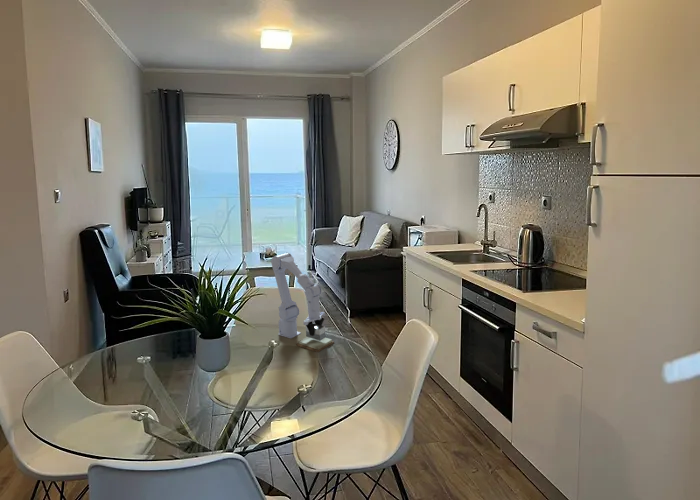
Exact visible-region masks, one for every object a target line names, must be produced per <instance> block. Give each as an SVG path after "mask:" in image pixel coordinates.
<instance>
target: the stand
mask: <svg viewBox="0 0 700 500" xmlns="http://www.w3.org/2000/svg"><path fill="white" fill-rule="evenodd" d="M334 343H335V340H333V339H331V338H328V337H325V338H324V339H322V340H320V341H319V340H316V339H313V338H309V337H306V336H305V337H304V338H301V339H300V340H299V341H298V343H296V346H297V347H300V348H304V349H307V350H309V351H313V352H316V353H319V352H321V351H323V350H324V349H326V348H328V347H329V346H331V345H332V344H334Z"/></svg>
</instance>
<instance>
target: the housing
mask: <svg viewBox="0 0 700 500" xmlns="http://www.w3.org/2000/svg"><path fill="white" fill-rule="evenodd" d="M313 323H314V324H315V322H313ZM306 337H309V338H313V339H316V340H319V341H320V340H322V339H324V338H327V337H326V326H324V325H323V324H322V325H318V324H315V328H314V336H311V335H310V333H309V330H308V328H307V326H306V325H305V338H306Z"/></svg>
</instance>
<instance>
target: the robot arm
mask: <svg viewBox="0 0 700 500" xmlns="http://www.w3.org/2000/svg"><path fill="white" fill-rule="evenodd" d="M270 263H271V267H272V270H273V274H274V277H275V282H276V285H277V288H278V289H277V290H278V293H279V297H280V300H281V303H280V305H279V307H278V315H279V318H280V319H279V320H278V335H277V336H281V337H285V338H288V339H293V338H295V337H297V336H299V335H301V332H300V331H298V325H297V324H298V323H297V322H298V321H297V319H298V316H300V308H299V307H298V304H297V302H296V301H294V300H292V296H291V292H290V287H289V284H288V280H287V276H286V270H288V271H289V272H290V273H291V274H292V275H294V276H295V278H296V279H297V280H296V281H297V283H298V284H299V285H300V287H302V289H303V290H304V295H305V296H306V301H307V311H308V314H307V315H308V316H307V317H306V318H305V320H303V325H304V326H305V327H306V326H307V328H308V330H309V333H310V335H311V336H314V328H315V324H318V325H322V326H323V323H324V322H325V318H324V317H325V316H326V313H325V312H324V311H321V310H320V308H321V307H320V295H321V294H322V288H321V286H320V284H319V283H316V282H313V281H312V280H311V278H310V277H309V276H308V275H307V274H306V273H303V272H302V271H301V269H300V268H299V267H298V266H297V264H296V263H295V257H293V255H292V254H291V253H290V252H285V253H282V254H279V255H273V256H272V258H271V260H270ZM314 323H315V324H314Z"/></svg>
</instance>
